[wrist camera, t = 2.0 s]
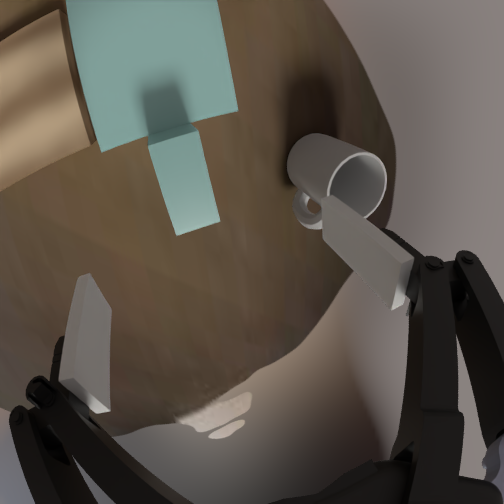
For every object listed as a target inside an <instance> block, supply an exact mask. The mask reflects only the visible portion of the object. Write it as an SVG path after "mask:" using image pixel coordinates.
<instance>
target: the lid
mask: <svg viewBox="0 0 504 504" xmlns="http://www.w3.org/2000/svg"><path fill="white" fill-rule="evenodd" d="M66 6H67V13H68V20H69V26H70V32H71V37H72V43H73V48H74V53H75V57H76V62H77V67H78V71H79V75H80V79H81V83H82V87H83V91H84V95H85V99H86V103H87V106H88V110H89V113H90V117H91V120H92V124H93V127H94V130H95V134H96V137H97V140H98V143H99V146H100V149H101V152H104V151H106V150H109V149H112V148H114V147H117V146H119V145H122V144H125V143H128V142H130V141H133V140H136V139H139V138H142V137H145V136H148V135H149V136H148V148H149V152H150V155H151V159H152V162H153V165H154V168H155V172H156V175H157V178H158V181H159V184H160V188H161V191H162V194H163V197H164V200H165V203H166V206H167V209H168V212H169V215H170V218H171V221H172V224H173V227H174V230H175V232H176V235H180V234H183V233H186V232H189V231H192V230H195V229H198V228H202V227H205V226H208V225H211V224H214V223H217V222H220V219H219V215H218V211H217V207H216V203H215V199H214V194H213V190H212V186H211V182H210V178H209V174H208V170H207V166H206V162H205V157H204V153H203V149H202V145H201V140H200V136H199V132H198V130H197V129H196V128H195V127H194V126H193V125H192V124H191V122H194V121H198V120H202V119H206V118H210V117H214V116H218V115H222V114H227V113H231V112H236V111H238V106H237V101H236V96H235V90H234V85H233V80H232V75H231V69H230V64H229V59H228V54H227V49H226V44H225V38H224V33H223V28H222V23H221V18H220V13H219V8H218V3H217V0H66Z"/></svg>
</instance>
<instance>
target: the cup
mask: <svg viewBox="0 0 504 504" xmlns="http://www.w3.org/2000/svg"><path fill="white" fill-rule="evenodd" d="M287 172H288V175H289V178H290V180H291V181H292V183H293V184H294V185H295V186H296V187H297V188H298V190H297V192H296V194H295V196H294V199H293V205H292V207H293V212H294V214H295V216H296V218H297V219H298V221H299V222H300V223H301V224H302V225H303V226H305V227H307V228H309V229H321V228H322V208H321V209H320V211H319V212H318V213H317V214H313V213H311V212H310V211H309V210H308V209H307V202H308V200H309V198H311V199H312V200H314V201H315V202H316V203H317V204H319V205H320V206H321V198H324V197H327V196H331V195H333V196H335V197H336V198H338V199H339V200H340V201H342V202H343V203H345V204H346V205H347V206H349V207H350V208H352V209H353V210H354V211H356V212H357V213H358V214H360V215H361V216H362V217H364V218H367V217H368V216H369V215H370V214H371V213H373V212H374V210H375V209H376V208H377V207H378V206H379V204H380V202H381V200H382V198H383V196H384V193H385V190H386V183H387V176H386V170H385V167H384V164H383V163H382V162H381V160H380V159H379V158H378V157H377V156H375V155H374V154H372V153H370V152H367V151H365V150H363V149H360V148H358V147H356V146H353V145H351V144H348V143H346V142H344V141H341V140H339V139H336V138H333V137H331V136H328V135H324V134H320V133H313V134H309V135H306V136H304V137H302V138H301V139H300V140H298V141H297V142H296V143H295V145H294V146H293V147H292V149H291V151H290V153H289V155H288V160H287ZM321 207H322V206H321Z"/></svg>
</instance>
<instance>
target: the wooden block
mask: <svg viewBox="0 0 504 504" xmlns="http://www.w3.org/2000/svg"><path fill="white" fill-rule="evenodd" d="M96 140H97V139H96V136H95V133H94V130H93V126H92V123H91V120H90V116H89V113H88V109H87V105H86V102H85V98H84V94H83V90H82V87H81V83H80V78H79V74H78V70H77V65H76V61H75V56H74V51H73V46H72V41H71V36H70V30H69V24H68V18H67V15H66V14H65V13H63V12H62V11H61V10H59V9H57V10H55V11H53V12H51V13H49V14H47V15H45V16H43V17H41V18H39V19H38V20H36V21H34V22H32V23H30V24H29V25H27V26H25V27H23V28H22V29H20V30H18V31H17V32H15V33H13V34H12V35H10V36H9V37H7V38H5V39H4V40H2V41H1V42H0V191H2V190H4V189H5V188H7V187H9V186H10V185H12V184H14V183H16V182H17V181H19V180H21V179H23V178H24V177H26V176H28V175H30V174H32V173H34V172H36V171H38V170H39V169H41V168H43V167H45V166H47V165H49V164H51V163H53V162H55V161H57V160H60V159H62V158H64V157H66V156H68V155H70V154H72V153H75V152H77V151H79V150H82V149H84V148H86V147H88V146H91V145H92V144H93V143H94V142H95V141H96Z"/></svg>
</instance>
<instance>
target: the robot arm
mask: <svg viewBox="0 0 504 504" xmlns="http://www.w3.org/2000/svg"><path fill="white" fill-rule="evenodd" d="M321 206H322V229H323V240H324V241H325V242H326V243H327V244H328V245H329V246H330V247H331V248H332V249H333V250H334V251H335V252H336V253H337V254H338V255H339V256H340V257H341V258H342V259H343V260H344V261H345V262H346V263H347V264H348V265H349V266H350V267H351V268H352V269H353V270H354V271H355V272H356V274H357V275H359V277H360V278H361V279H362V280H363V281H364V282H365V283H366V284H367V285H368V286H369V287H370V288H371V289H372V291H373V292H374V293H375V294H376V295H377V296H378V297H379V298H380V299H381V300H382V301H383V302H384V303H385V305H386V306H387V307H388V308H389V309H390V310H393V309H395V308H397V307H399V306H400V305H402V304H403V303H404V299H405V295H407V297H409V299H410V303H409V307H408V310H407V313H406V316H408V314H409V334H408V354H407V355H408V356H407V368H406V379H405V388H404V396H403V404H402V411H401V418H400V424H399V430H398V435H397V438H396V441H395V443H394V445H393V448H392V451H391V456H390V460H383V461H377V462H373V461H372V460H369V461H367V462H366V463H364V464H362V465H360V466H358V467H356V468H354V469H352V470H350V471H348V472H347V473H344V474H343V475H342V476H341V477H339V478H338V479H337V480H335V481H334V482H333V483H332V484H330V485H329V486H328V487H326V488H325V489H323V490H322V491H321V492H319V493H317V494H314V495H307V496H301V497H294V498H286V499H282V500H279V501H276V502H272V503H269V504H503V502H504V302H503V300H502V299H501V297H500V295H499V293H498V291H497V289H496V287H495V285H494V284H493V282H492V280H491V278H490V277H489V275H488V273H487V271H486V270H485V268H484V266H483V265H482V263H481V262H480V260H479V258H478V257H477V256H476V255H475V254H473V253H472V252H469V251H465V250H462V251H459V252H458V253H457V254H456V258H455V260H454V261H447V262H443V261H442V260H441V259H439V258H437V257H434V256H426V257H424V256H423V255H422V254H421V253H420V252H418V251H417V250H416V249H414V248H413V247H412V246H411V245H409V244H408V243H407V242H405V240H403V239H402V238H400V237H399V236H398V235H397V234H395V233H394V232H393V231H390V230H388V229H385V228H382V229H378V228H377V227H376V226H374V225H373V224H372V223H370V222H369V221H368V220H366V219H365V218H364V217H362V216H361V215H360V214H358V213H357V212H356V211H354V210H353V209H352V208H350V207H349V206H347V205H346V204H345V203H343V202H342V201H340V200H339V199H338V198H336V197H335V196H333V195H331V196H327V197H324V198H321ZM111 313H112V309H111V308H110V306H109V304H108V303H107V301H106V300H105V298H104V296H103V295H102V293H101V291H100V290H99V288H98V286H97V285H96V283H95V281H94V279H93V278H92V276H91V274H90V273H88V274H85V275H82V276H80V277H78V280H77V283H76V287H75V291H74V295H73V300H72V304H71V308H70V313H69V318H68V323H67V328H66V333H65V336H62V337H60V338H59V339H58V341H57V343H56V345H55V349H54V357H53V361H52V362H53V364H52V367H51V374H50V381H48V380H47V379H46V378H45V377H44V376H36V377H34V378H33V379H32V380H31V381H30V382H29V384H28V386H27V388H26V398H27V400H28V401H30V402H31V403H32V404H33V405H35V407H33V408H31V409H30V410H27V409H26V408H25V407H23V406H20V405H19V406H17V407H15V408H14V409H13V410H12V412H11V414H10V418H9V425H10V429H11V433H12V437H13V441H14V444H15V448H16V452H17V455H18V458H19V461H20V464H21V467H22V470H23V473H24V476H25V479H26V482H27V484H28V487H29V489H30V492H31V494H32V497H33V499H34V501H35V504H98V502H97V501H96V499H95V498H94V496H93V494H92V492H91V491H90V489H89V487H88V485H87V484H86V482H85V480H84V478H83V476H82V475H81V473H80V471H79V469H78V467H77V465H76V463H75V461H74V459H73V457H74V458H75V459H76V461H77V462H78V463H79V464H80V466H81V467H82V468H83V469H84V470H85V472H86V473H87V474H88V475H89V476H90V477H91V478H92V479H93V481H94V482H95V483H96V484H97V485H98V486H99V487H100V488H101V489H102V490H103V491H104V492H105V493H106V494H107V495H108V496H109V497H110V498H111V499H112V500H113V501H114V502H115V503H116V504H193V503H192V502H190V501H189V500H187V499H186V498H184V497H183V496H182V495H180V494H179V493H177V492H176V491H174V490H173V489H172V488H170V487H169V486H168V485H166V484H165V483H164V482H162V481H161V480H160V479H159V478H157V477H156V476H155V475H153V474H152V473H151V472H150V471H148V470H147V469H146V468H145V467H144V466H143V465H141V464H140V463H139V462H138V461H137V460H135V459H134V458H133V457H132V456H131V455H130V454H129V453H128V452H126V451H125V450H124V449H123V448H122V447H121V446H120V445H119V444H118V443H117V442H116V441H115V440H114V439H113V438H112V437H111V436H110V435H109V434H108V433H107V432H106V431H105V430H104V429H103V428H102V427H101V426H100V425H99V424H98V423H97V422H96V421H95V420H94V419H93V418H92V417H91V416H90V415H89V408H90V409H91V410H93V411H94V412H95V413H96V414H97V413H103V412H108V411H110V375H109V366H110V330H111ZM456 335H457V338H458V341H459V344H460V347H461V350H462V353H463V357H464V360H465V364H466V367H467V370H468V374H469V378H470V382H471V386H472V390H473V394H474V398H475V402H476V407H477V412H478V417H479V422H480V427H481V431H482V435H483V439H484V442H485V445H486V448H487V452H486V455H485V457H484V458H483V461H482V466H483V468H485V469H486V476H485V479H484V480H479V479H474V478H468V477H464V476H459V470H460V463H461V455H462V446H463V435H464V416H463V413H461V412H459V410H458V357H457V341H456ZM72 456H73V457H72Z"/></svg>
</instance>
